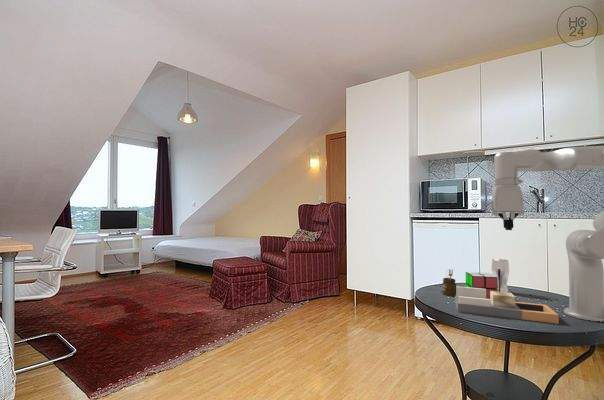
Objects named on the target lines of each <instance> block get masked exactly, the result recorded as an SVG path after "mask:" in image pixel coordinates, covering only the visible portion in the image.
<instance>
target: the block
mask: <svg viewBox="0 0 604 400" xmlns="http://www.w3.org/2000/svg"><path fill="white" fill-rule="evenodd" d="M490 300H491V303H492V305H493V306H502V307H511V308H515V302H516V296H515V295H514V294H513V293H512V292H508V293H507V292H496V291H490Z"/></svg>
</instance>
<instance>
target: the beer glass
mask: <svg viewBox="0 0 604 400" xmlns="http://www.w3.org/2000/svg"><path fill="white" fill-rule="evenodd" d="M509 273H510V265H509V260H508V259H503V258H492V259H491V274H492V275H493V276H495V277H497V278H498V288H497V289H498V292H507V293H509V291H508V290H509V289H508V280H509V276H510V275H509Z"/></svg>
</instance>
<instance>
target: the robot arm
mask: <svg viewBox="0 0 604 400" xmlns="http://www.w3.org/2000/svg"><path fill="white" fill-rule="evenodd" d="M493 161H494V179H495V187H492V193H491V215H492V216H499V218H501V219H502V221H503V228H504V230H506V231H512V230H513V229H514V220H515V219H516V218H517V217H518V216H524V215H525V211H524V208H525V206H524V198H523V192H522V189H521V186H520V185H519V184H523V179H519V177H518V175H519V174H518V173H519V172H521V173H525V172H546V171H549V172H550V171H572V170H604V145H592V146H591V145H588V146H587V145H586V146H571V147H564V148H561V149H557V150H553V151H552V150H551V151H546V152H545V151H544V152H542V151H540V150H538V149H534V148H533V149H532V148H530V149H529V148H528V149H523V150H518V151H517V150H516V151H501V152H497V153H496V154H495V155H494V157H493ZM507 213H509V215H508V217H507ZM592 226H593V228H594V229H595V230H590V229H578V230H574V231H572V232H571V233H569V234H568V235H567V237H566V239H565V249H566V254H567V261H568V286H569V287H568V295H569V299H568V300H569V301H568V302H569V303H568V305H569V306H568V307H566V308H564V309H563V312H564V314H566V315H568V316H570V317H573V318H576V319H579V320H585V321H589V320H590V321H589V322H597V321H600V322H601V323H604V263H603V261H602V260H604V210H602V211H601V212H600V213H598V214H597V215H596V216H595V217H594V219H593V221H592ZM602 321H603V322H602ZM600 322H599V323H600Z"/></svg>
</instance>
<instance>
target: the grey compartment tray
mask: <svg viewBox="0 0 604 400" xmlns="http://www.w3.org/2000/svg"><path fill="white" fill-rule="evenodd" d="M454 304H455V307H456V311H457V312H458V313H467V314H474V315H480V316H481V315H482V316H490V317H498V318H499V317H500V318H506V319H507V318H509V319H515V320H524V321H533V322H541V323H549V324H550V323H551V324H557V325H558V324H560V323H559V322H560V321H559V320H560V318H559V316H560V315H559V313H557V312H556V311H554V310H553V308H551V307H550V306H548V305H547V304H542V303H529V302H522V301H515V308H511V307H502V306H493V305H492V303H491V300H490V299H486V289H481V288H471V287H466V286H458V285H456V295H455V296H454Z"/></svg>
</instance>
